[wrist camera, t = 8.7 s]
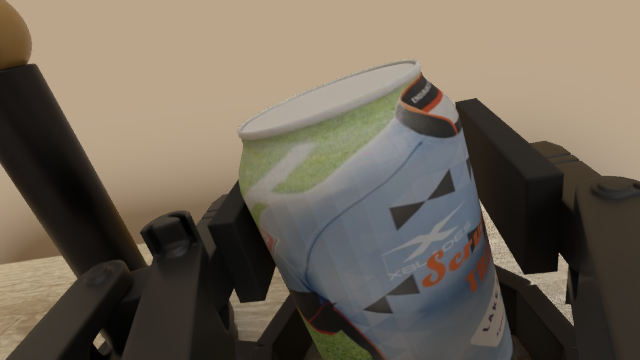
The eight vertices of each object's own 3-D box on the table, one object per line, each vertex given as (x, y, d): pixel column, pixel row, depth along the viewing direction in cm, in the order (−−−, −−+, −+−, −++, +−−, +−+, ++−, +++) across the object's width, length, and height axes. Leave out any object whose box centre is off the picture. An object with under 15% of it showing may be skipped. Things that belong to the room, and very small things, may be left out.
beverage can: (539, 523, 10) (572, 81, 5) (294, 460, 12) (149, 138, 7) (507, 332, 15) (507, 27, 10) (340, 317, 18) (273, 72, 13)
